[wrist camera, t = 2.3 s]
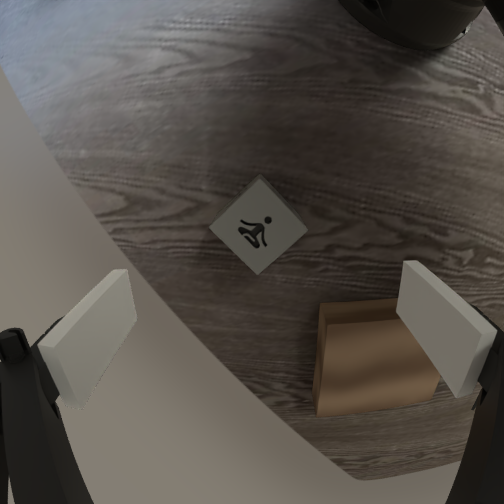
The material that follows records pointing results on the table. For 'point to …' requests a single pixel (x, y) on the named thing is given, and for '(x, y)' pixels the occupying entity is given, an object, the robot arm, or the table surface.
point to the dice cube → (258, 224)
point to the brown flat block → (368, 360)
